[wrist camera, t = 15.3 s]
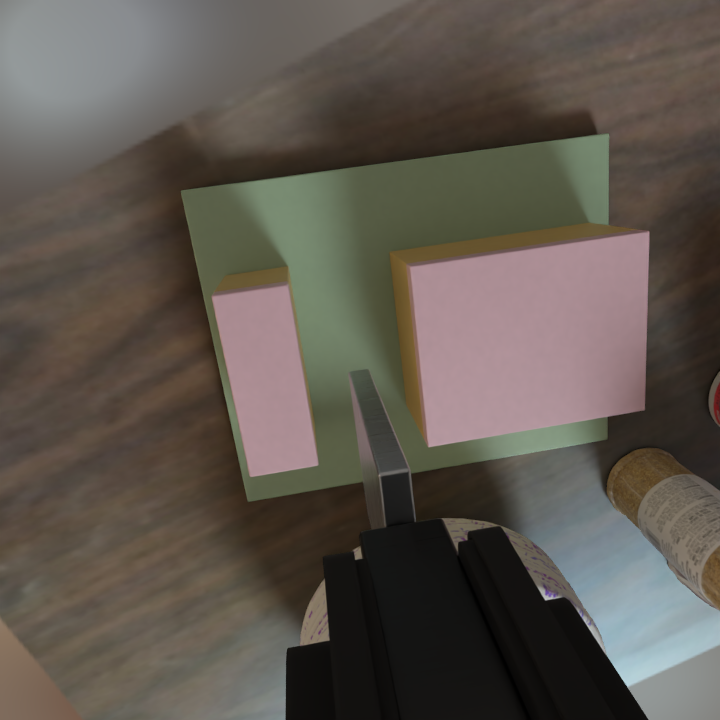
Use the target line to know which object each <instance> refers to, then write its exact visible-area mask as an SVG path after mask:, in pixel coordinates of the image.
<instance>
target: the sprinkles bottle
mask: <svg viewBox="0 0 720 720" xmlns="http://www.w3.org/2000/svg"><path fill="white" fill-rule="evenodd" d="M607 495H608V497H609V500H610V502H611V503H612V504H613V506H614V508H615V509H616V510H618V511H619V512H621V513H622V514H624V515H626V516H627V518H628V519H630V520H631V521H632V522H633V523H634V524H635V525H636V526H637V527H638V528H639V529H640V530H641V532H642V534H643V535H644V536H645V538H646V539H647V540H648V541H649V542H650V543H651V544H652V545H653V546H654V547H655V548H656V549H657V550H658V551H659V552H660V553H661V554H662V555H663V556H664V557H665V558H666V559H667V560H668V561H669V562H670V563H671V564H672V565H673V566H674V567H675V568H676V569H677V570H678V571H679V572H680V573H681V574H682V575H683V576H684V577H685V578H686V579H687V580H688V581H689V582H690V583H691V584H692V585H693V586H694V587H695V588H696V589H697V590H698V591H699V592H700V593H701V594H702V595H703V596H704V597H705V598H706V599H707V600H708V601H710V602H711V603H712V604H714V605H715V606H716V607H717V608H718V609H719V610H720V490H718V489H717V488H715V487H714V486H713V485H711V484H710V483H708V482H707V481H706V480H704V479H702V478H700V477H698V476H696V475H694V474H693V473H692V472H691V471H689V470H688V469H687V468H685V467H684V466H683V465H681V464H680V463H678V462H677V461H676V459H675V458H674V457H673V456H672V455H671V454H670V453H668V452H666V451H664V450H661V449H658V448H642V449H637V450H635V451H633V452H631V453H629V454H628V455H626V456H624V457H623V458H622V459H620V460H619V461H618V462H617V463H616V465H615V466H614V467H613V468H612V470H611V472H610V474H609V478H608V481H607Z"/></svg>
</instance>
